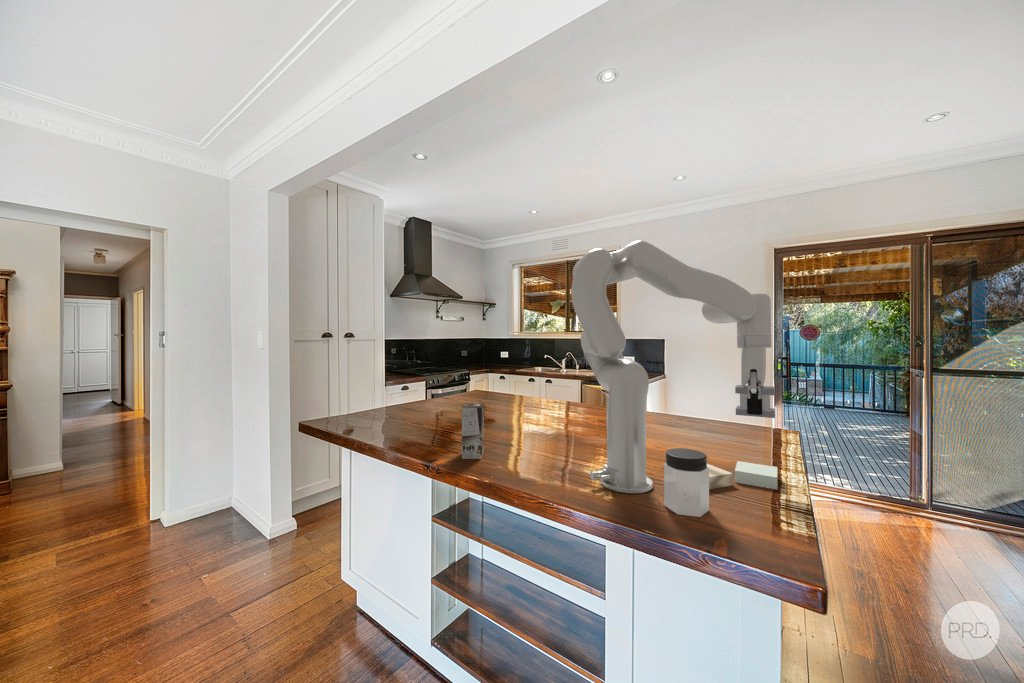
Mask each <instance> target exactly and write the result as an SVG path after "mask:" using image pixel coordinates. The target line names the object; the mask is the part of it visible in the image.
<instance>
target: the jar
mask: <svg viewBox="0 0 1024 683" xmlns="http://www.w3.org/2000/svg"><path fill="white" fill-rule="evenodd" d="M707 457H708V456H707V454H706V453H704V452H702V451H700V450H696V449H691V448H683V447H681V448H680V447H679V448H678V447H675V448H670V449H666V451H665V463H663V499H664V500H663V505H664V506H665V507H666V508H667V509H669V510H671V512H674V513H675V514H676V515H679V516H687V517H695V518H696V517H697V518H702V517H703V516H704V515H705V514H706V513H708V512H709V511H710V489H709V467H707V464H708V458H707Z"/></svg>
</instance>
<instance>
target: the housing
mask: <svg viewBox="0 0 1024 683" xmlns="http://www.w3.org/2000/svg"><path fill="white" fill-rule="evenodd" d="M775 388H776V386H769V385H768V386H766V385H764V386H763V387H761V399H762V415H752V414H748V413H747V398H748V384H746V385H745V386H742V385H741V384H736V385H735V387H734V390H735V391H734V393H735V394H739V405H736V407H735V416H746V417H758V418H768V419H769V418H770V419H775V418H776V408H774V407H771V396H775V393H776V392H775Z"/></svg>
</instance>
